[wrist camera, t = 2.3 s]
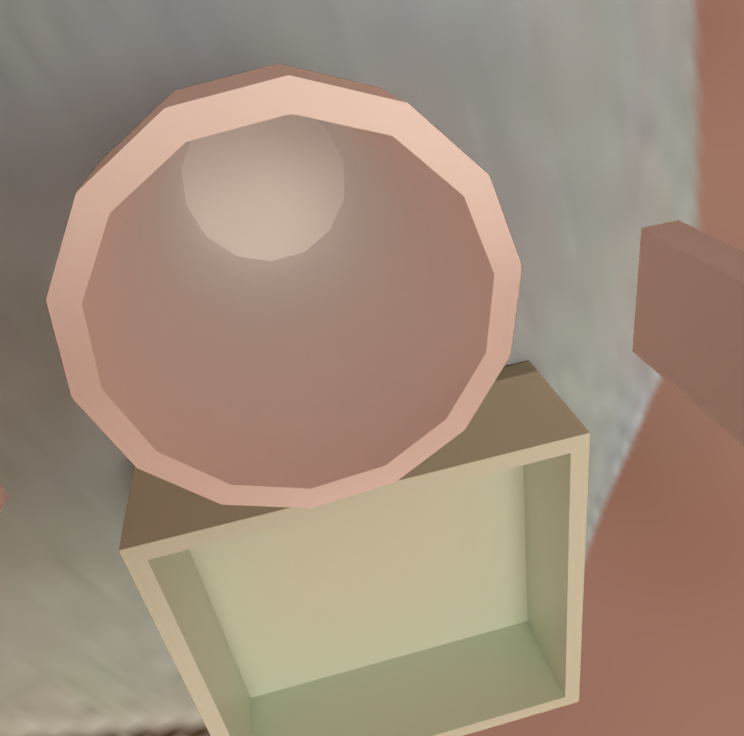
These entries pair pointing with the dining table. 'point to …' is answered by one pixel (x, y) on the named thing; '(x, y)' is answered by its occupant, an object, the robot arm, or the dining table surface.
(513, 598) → the bin
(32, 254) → the dining table surface
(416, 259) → the foam cup
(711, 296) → the robot arm
